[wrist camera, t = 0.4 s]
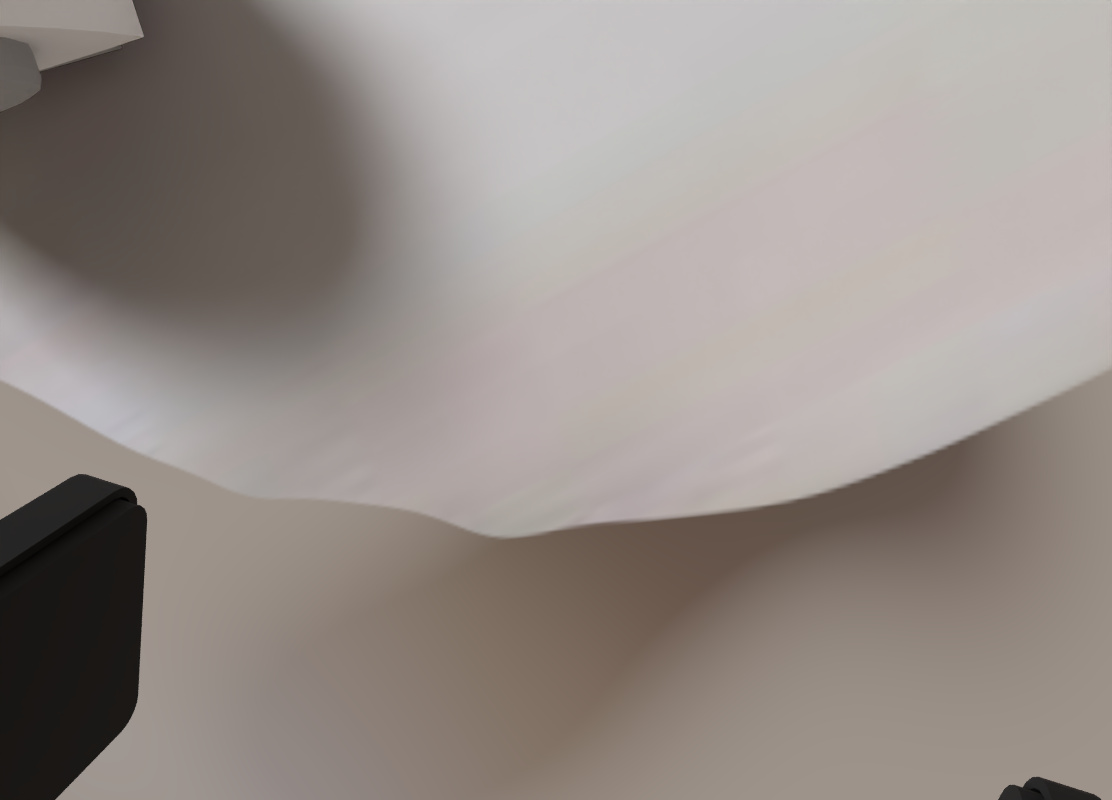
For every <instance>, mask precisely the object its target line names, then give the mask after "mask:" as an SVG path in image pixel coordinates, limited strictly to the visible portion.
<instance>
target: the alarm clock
mask: <svg viewBox="0 0 1112 800" xmlns="http://www.w3.org/2000/svg"><path fill="white" fill-rule="evenodd" d="M142 37H144V35H143V32H142V29H141V26H140V23H139V20H138V17H137V13H136V10H135V7H134V4H133V1H132V0H0V112H2V111H4V110H7V109H9V108H11V107H14V106H16V105H19V104H21V103H23V102H24V101H26V100H27V99H29V98H30V97H32V96H33V95H34V94H36V93H37V92H38V91H40V90H41V78H42V77H41V74H40V72H41V71H44V70H48V69H51V68H55V67H58V66H62V65H65V64H69V63H72V62H76V61H79V60H83V59H86V58H90V57H93V56H97V55H100V54H104V53H107V52H111V51H114V50H118V49H121V48H122V46H121V44H124V43H127V42H130V41H133V40H136V39H139V38H142Z"/></svg>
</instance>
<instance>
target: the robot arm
mask: <svg viewBox="0 0 1112 800" xmlns="http://www.w3.org/2000/svg"><path fill="white" fill-rule="evenodd" d="M146 531H147V513H146V511H145V509H144V508H143V507H142V506H140V505H137V498H136V496H135V493H134V492H133V491H132V490H131V489H129V488H127V487H124V486H121V485H118V484H114V483H111V482H108V481H105V480H102V479H99V478H96V477H92V476H89V475H86V474H85V475H84V474H78V475H76V476H74V477H71V478H69V479H67V480H66V481H64V482H62V483H61V484H59V485H57V486H56V487H55V488H53V489H51V490H49V491H48V492H46V493H44V494H43V495H41V496H39V497H38V498H36V499H34V500H33V501H31V502H29V503H28V504H26V505H24V506H23V507H21V508H19V509H18V510H16V511H14V512H13V513H11V514H9V515H8V516H6V517H4V518H3V519H1V520H0V800H55V799H56V798H57V797H58V796H59V795H60V794H61V793H62V792H63V791H64V790H65V789H66V788H67V787H68V786H69V785H70V784H71V783H72V782H73V781H74V780H75V779H76V778H77V777H78V776H79V775H80V774H81V772H83V771H84V770H85V768H86V767H87V766H88V765H89V764H90V763H91V762H92V761H93V760H94V759H95V758H96V757H97V756H98V755H99V754H100V753H101V752H102V751H103V750H104V749H105V748H106V747H107V746H108V745H109V744H110V743H111V742H112V741H113V740H114V739H115V737H117V736H118V734H119V733H120V732H121V731H122V730H123V729H124V728H125V726H126V725H127V723H128V722H129V720H130V718H131V716H132V714H133V712H134V710H135V707H136V703H137V698H138V684H139V666H140V665H139V664H140V646H141V627H142V608H143V588H144V570H145V569H144V568H145V549H146ZM998 800H1101V799H1100V798H1099V797H1097V796H1096V795H1094V794H1091V793H1088V792H1084V791H1082V790H1078V789H1075V788H1072V787H1069V786H1066V785H1062V784H1059V783H1056V782H1053V781H1050V780H1047V779H1043V778H1040V777H1032V778H1031V779H1029V780H1028V781H1027V782H1026V783H1025V785H1024V786H1023V788H1022V787H1019V786H1016V785H1009V786H1008V787H1006V788H1005V789H1004V791H1003V792H1002V794H1001V795H1000V798H999V799H998Z"/></svg>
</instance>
